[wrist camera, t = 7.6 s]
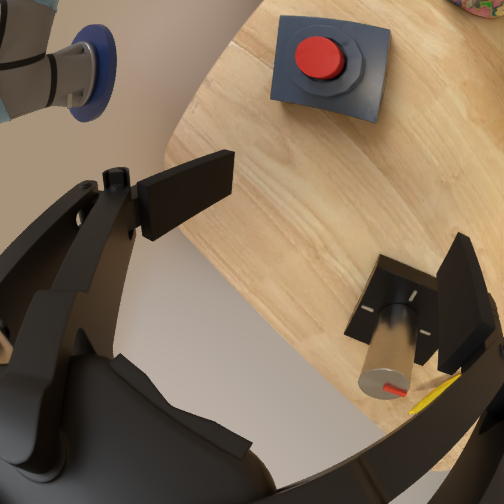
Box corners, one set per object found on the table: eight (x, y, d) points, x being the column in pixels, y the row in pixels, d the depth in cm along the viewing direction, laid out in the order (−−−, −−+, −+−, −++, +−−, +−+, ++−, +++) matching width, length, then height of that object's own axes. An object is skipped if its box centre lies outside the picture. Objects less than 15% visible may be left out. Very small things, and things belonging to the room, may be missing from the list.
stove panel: (348, 321, 34) (343, 335, 32) (379, 253, 27) (376, 266, 25) (424, 352, 29) (422, 367, 27) (468, 292, 23) (471, 307, 21)
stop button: (300, 75, 19) (292, 74, 18) (304, 38, 17) (297, 34, 16) (341, 83, 18) (336, 81, 17) (347, 44, 16) (342, 39, 14)
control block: (279, 99, 24) (260, 99, 22) (289, 20, 19) (271, 10, 16) (377, 122, 21) (373, 124, 18) (391, 36, 16) (389, 23, 13)
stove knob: (370, 327, 29) (349, 391, 22) (386, 297, 26) (370, 364, 19) (406, 341, 27) (392, 407, 20) (426, 312, 24) (419, 382, 18)
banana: (410, 383, 33) (403, 417, 28) (522, 342, 20) (529, 379, 15) (416, 392, 33) (409, 425, 28) (523, 354, 20) (528, 390, 15)
